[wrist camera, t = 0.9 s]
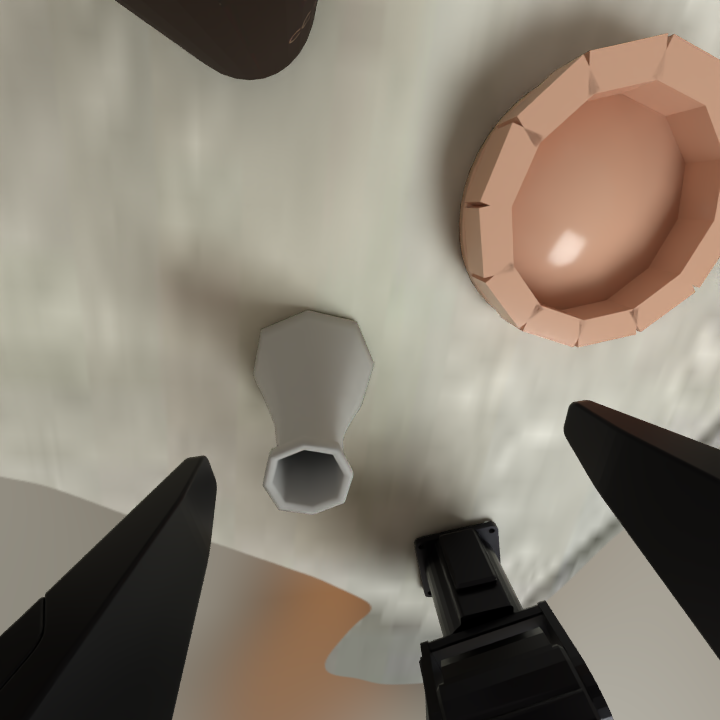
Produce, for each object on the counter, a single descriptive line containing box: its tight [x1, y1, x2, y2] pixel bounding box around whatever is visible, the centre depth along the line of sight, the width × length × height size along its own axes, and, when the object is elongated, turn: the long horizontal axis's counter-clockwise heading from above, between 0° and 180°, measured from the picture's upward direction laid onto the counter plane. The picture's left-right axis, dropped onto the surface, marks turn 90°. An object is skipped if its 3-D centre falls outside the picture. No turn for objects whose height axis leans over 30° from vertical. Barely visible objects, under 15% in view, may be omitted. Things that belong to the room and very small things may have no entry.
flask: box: [253, 310, 374, 515], centre depth 17 cm, size 7×7×10 cm
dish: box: [459, 33, 720, 347], centre depth 18 cm, size 13×13×3 cm
